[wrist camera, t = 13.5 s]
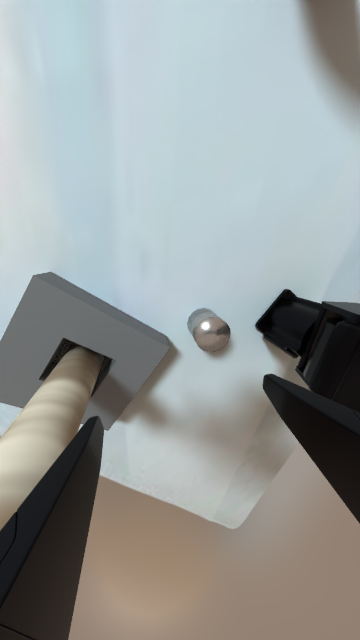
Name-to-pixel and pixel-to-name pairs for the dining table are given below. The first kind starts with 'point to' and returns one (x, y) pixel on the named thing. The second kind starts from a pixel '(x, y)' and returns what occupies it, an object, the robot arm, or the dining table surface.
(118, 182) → the dining table surface
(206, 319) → the steel stub
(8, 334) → the plate
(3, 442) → the birch pin
